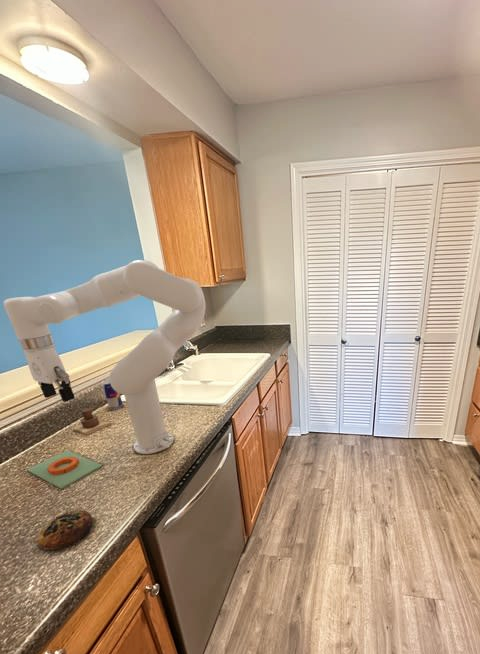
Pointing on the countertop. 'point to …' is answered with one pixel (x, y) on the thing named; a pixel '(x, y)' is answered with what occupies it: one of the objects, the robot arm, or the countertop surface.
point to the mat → (67, 478)
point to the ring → (66, 469)
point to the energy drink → (112, 396)
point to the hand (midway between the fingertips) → (59, 398)
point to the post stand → (90, 423)
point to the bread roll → (65, 530)
